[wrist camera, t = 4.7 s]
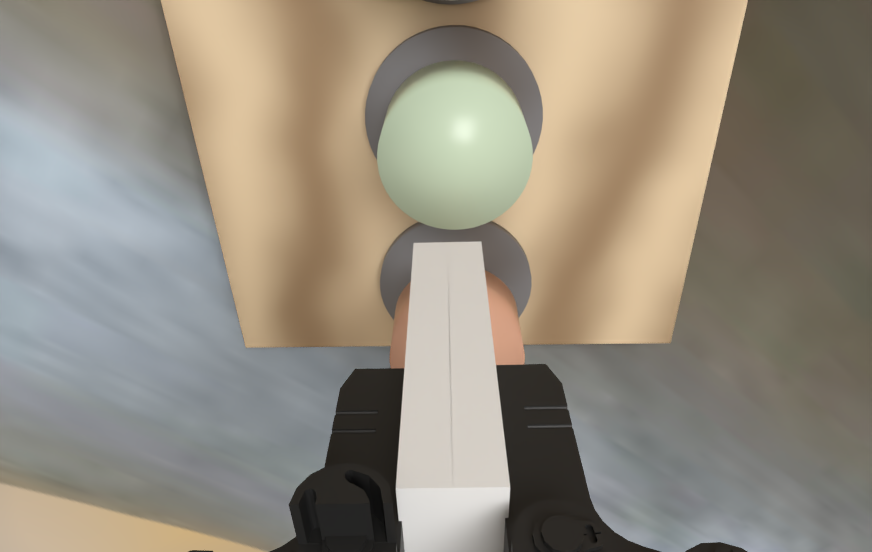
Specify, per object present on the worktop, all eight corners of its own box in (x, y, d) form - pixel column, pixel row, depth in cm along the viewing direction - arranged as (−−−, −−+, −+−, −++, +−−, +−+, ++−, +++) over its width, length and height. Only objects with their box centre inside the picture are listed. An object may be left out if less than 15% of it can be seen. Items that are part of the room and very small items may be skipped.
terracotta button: (398, 364, 29) (393, 410, 26) (391, 265, 26) (384, 306, 23) (514, 363, 28) (521, 409, 26) (520, 263, 26) (528, 304, 23)
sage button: (389, 196, 25) (382, 231, 23) (379, 62, 22) (370, 83, 20) (520, 194, 25) (528, 228, 23) (527, 58, 22) (537, 80, 20)
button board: (255, 324, 34) (242, 354, 32) (127, -240, 21) (90, -255, 19) (659, 319, 33) (674, 350, 31) (780, -264, 20) (820, -283, 18)
